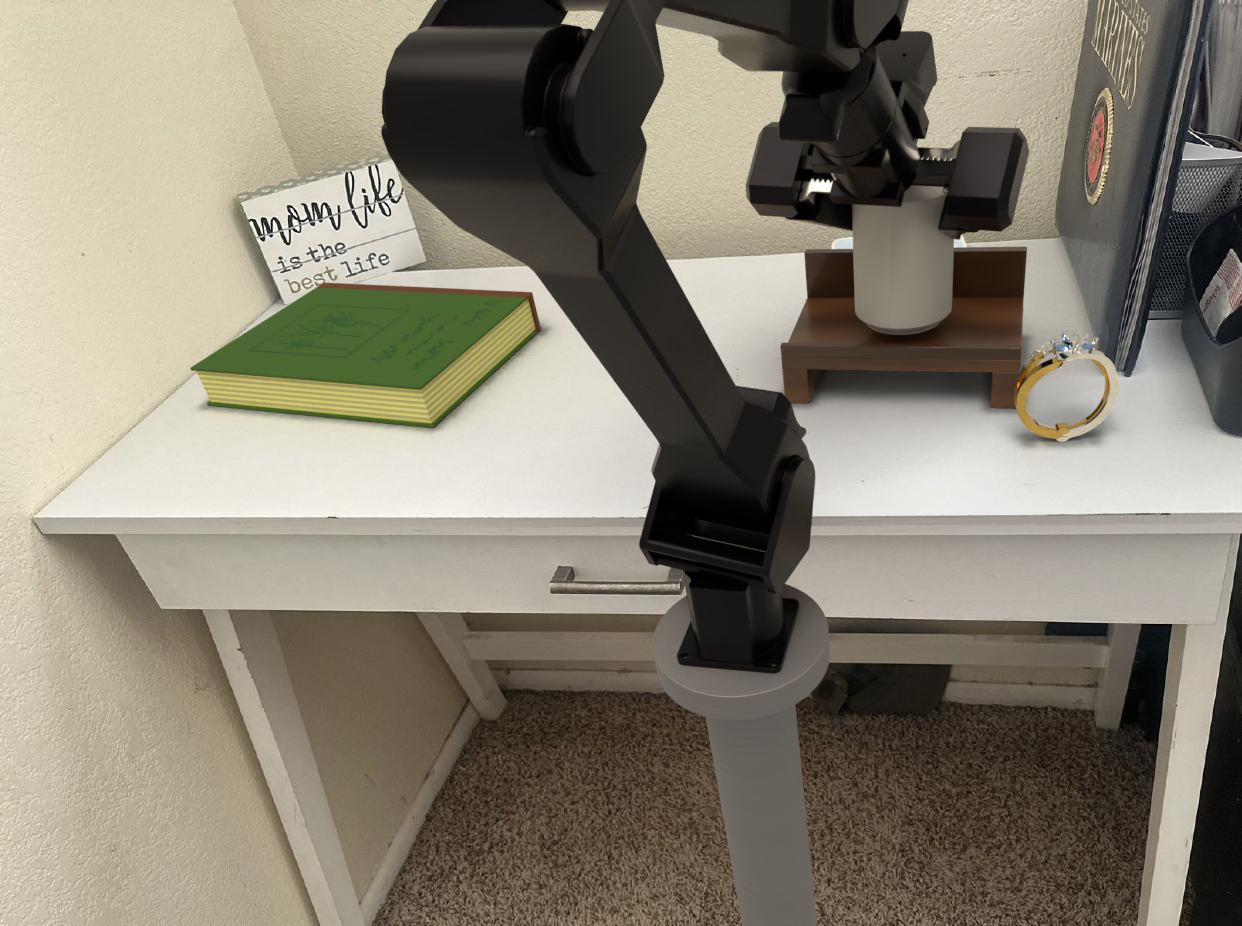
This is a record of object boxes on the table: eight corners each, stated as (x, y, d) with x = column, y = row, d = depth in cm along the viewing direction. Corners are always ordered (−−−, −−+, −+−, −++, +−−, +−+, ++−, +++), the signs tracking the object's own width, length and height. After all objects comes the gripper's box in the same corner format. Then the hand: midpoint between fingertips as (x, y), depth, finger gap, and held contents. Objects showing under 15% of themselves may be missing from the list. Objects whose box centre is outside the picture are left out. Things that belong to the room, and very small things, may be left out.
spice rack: (1017, 408, 77) (1024, 309, 72) (784, 402, 81) (776, 309, 77) (1020, 338, 86) (1027, 246, 81) (811, 336, 91) (805, 249, 86)
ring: (1106, 424, 74) (1120, 322, 69) (1116, 448, 71) (1131, 343, 67) (1008, 429, 75) (1015, 328, 70) (1014, 452, 72) (1021, 349, 67)
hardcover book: (540, 329, 98) (532, 292, 96) (433, 427, 84) (420, 387, 82) (330, 316, 106) (318, 282, 104) (201, 404, 92) (183, 367, 90)
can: (960, 302, 81) (966, 147, 74) (940, 343, 76) (944, 179, 69) (869, 297, 84) (866, 146, 77) (843, 336, 78) (838, 177, 71)
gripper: (1033, -12, 60) (1059, 133, 74) (747, -3, 67) (821, 127, 81) (989, 167, 59) (1024, 279, 73) (705, 155, 66) (787, 258, 81)
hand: (909, 229), depth 77 cm, fingers closed on can, 7 cm apart
